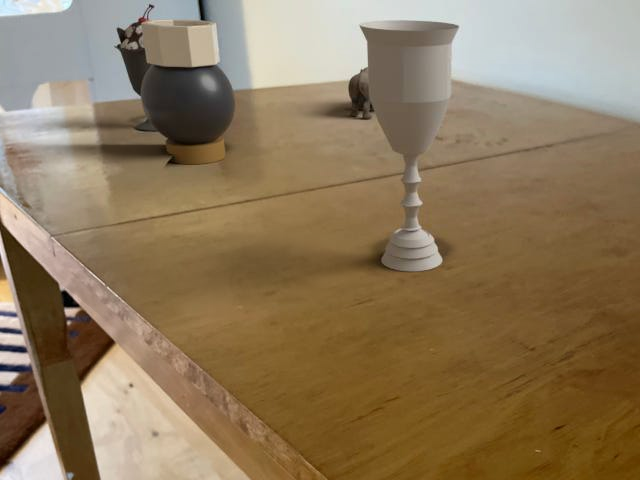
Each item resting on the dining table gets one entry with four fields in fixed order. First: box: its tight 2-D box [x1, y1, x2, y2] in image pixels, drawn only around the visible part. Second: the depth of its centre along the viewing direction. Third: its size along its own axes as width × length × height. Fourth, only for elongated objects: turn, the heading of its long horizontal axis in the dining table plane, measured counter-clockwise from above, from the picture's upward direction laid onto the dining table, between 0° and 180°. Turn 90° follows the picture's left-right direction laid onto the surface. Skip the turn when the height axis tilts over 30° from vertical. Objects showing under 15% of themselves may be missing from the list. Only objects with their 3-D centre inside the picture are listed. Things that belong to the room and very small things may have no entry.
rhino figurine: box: [347, 66, 374, 119], centre depth 117 cm, size 4×14×6 cm, turn 179°
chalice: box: [358, 19, 460, 272], centre depth 60 cm, size 7×7×18 cm
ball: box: [140, 64, 236, 165], centre depth 88 cm, size 10×10×12 cm
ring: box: [141, 18, 221, 67], centre depth 85 cm, size 7×7×4 cm
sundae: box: [113, 3, 158, 132], centre depth 100 cm, size 7×7×15 cm
